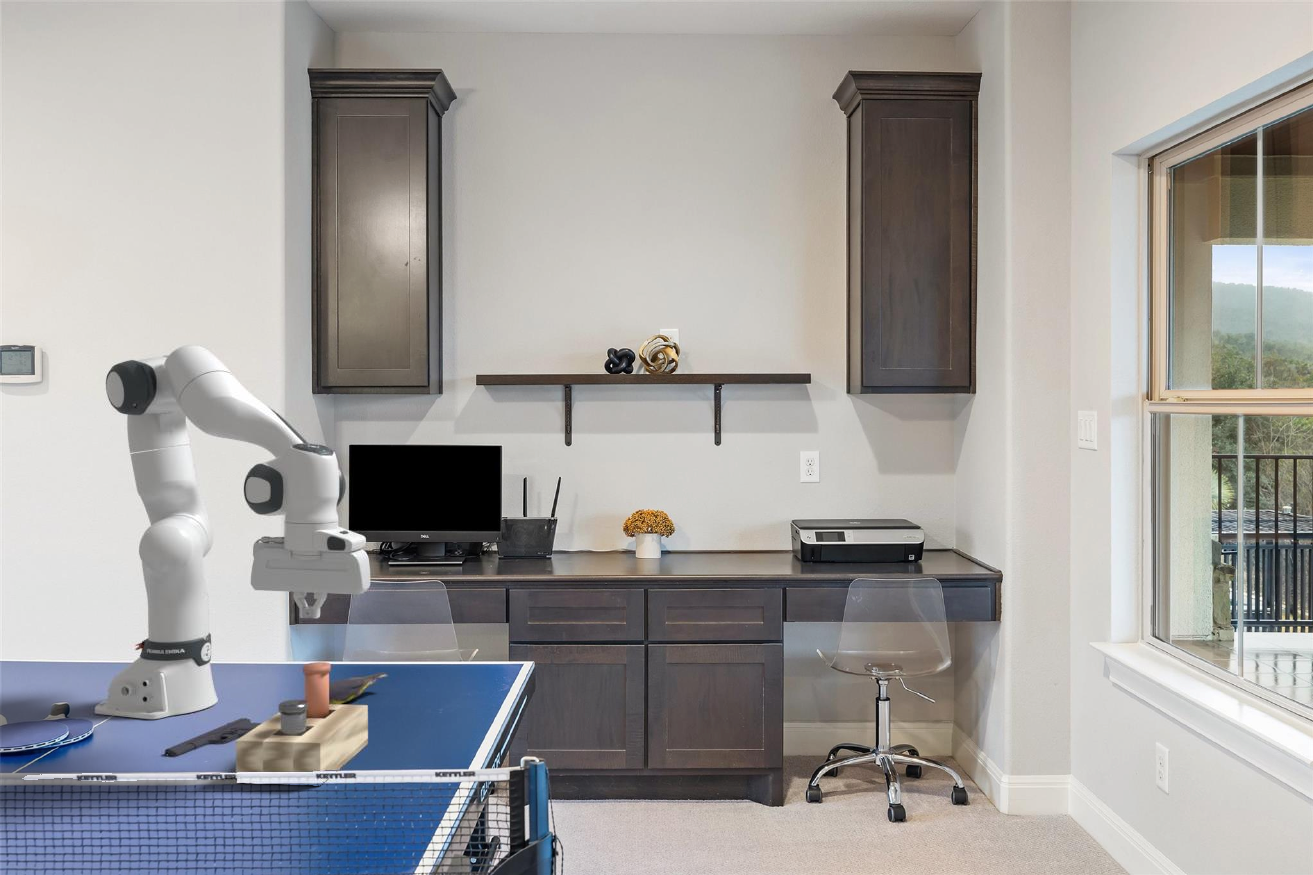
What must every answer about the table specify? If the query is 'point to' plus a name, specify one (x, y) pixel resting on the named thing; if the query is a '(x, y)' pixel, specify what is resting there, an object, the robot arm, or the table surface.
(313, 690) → the rust plug
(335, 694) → the bird model
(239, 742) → the beech block
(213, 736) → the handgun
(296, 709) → the metal plug
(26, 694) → the table surface
